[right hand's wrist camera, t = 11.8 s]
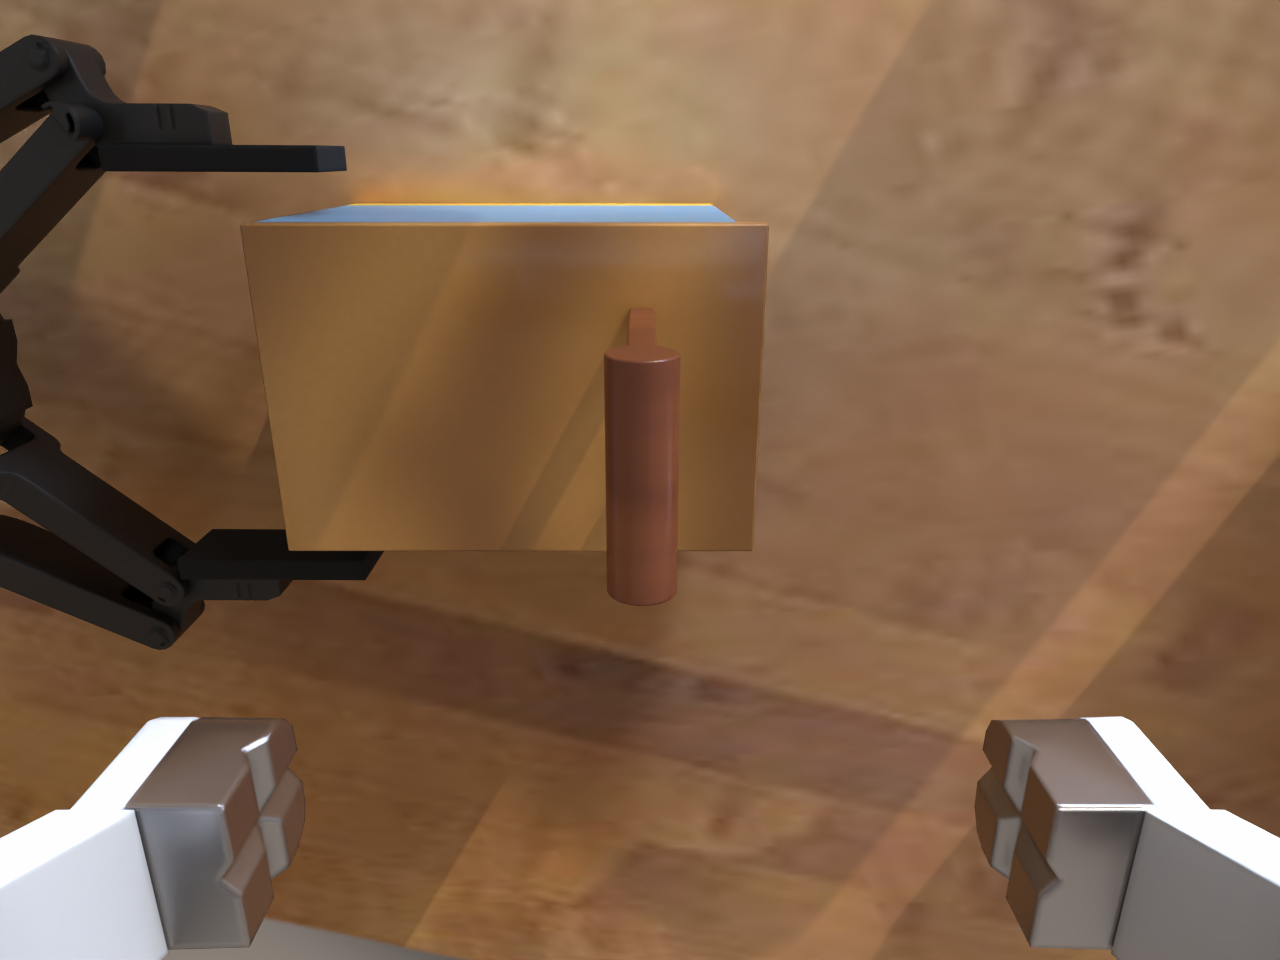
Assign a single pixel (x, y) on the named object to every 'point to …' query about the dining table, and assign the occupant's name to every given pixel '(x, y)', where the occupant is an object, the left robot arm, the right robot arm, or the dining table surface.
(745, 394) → the lid
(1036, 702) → the dining table surface
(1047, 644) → the dining table surface
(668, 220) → the chest
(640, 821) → the dining table surface
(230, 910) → the right robot arm
